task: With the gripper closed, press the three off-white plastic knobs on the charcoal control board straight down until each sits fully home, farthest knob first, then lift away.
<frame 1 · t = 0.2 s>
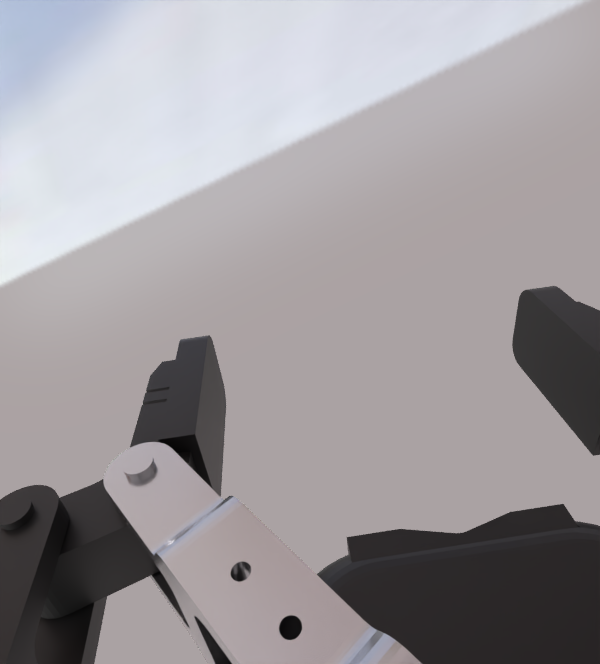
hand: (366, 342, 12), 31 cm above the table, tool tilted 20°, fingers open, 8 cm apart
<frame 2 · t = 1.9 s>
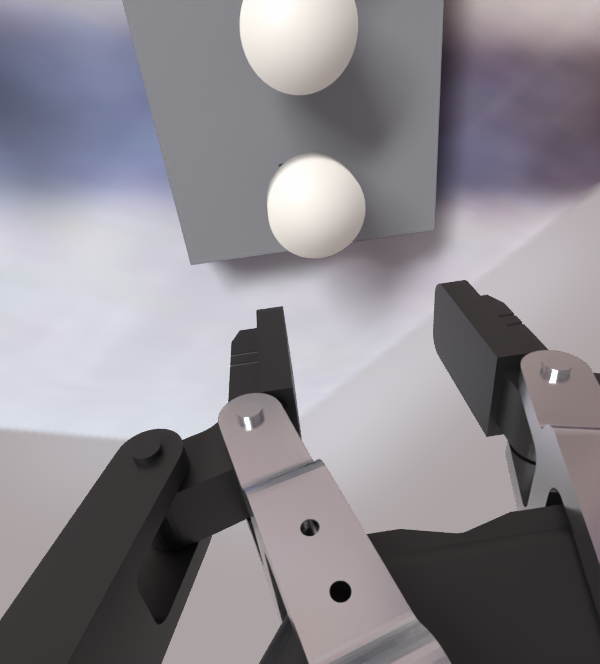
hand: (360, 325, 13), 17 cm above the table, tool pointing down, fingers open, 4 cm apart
control board: (285, 30, 24), on the table
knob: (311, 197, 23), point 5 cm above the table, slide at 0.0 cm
knob middle: (294, 29, 20), point 5 cm above the table, slide at 0.0 cm
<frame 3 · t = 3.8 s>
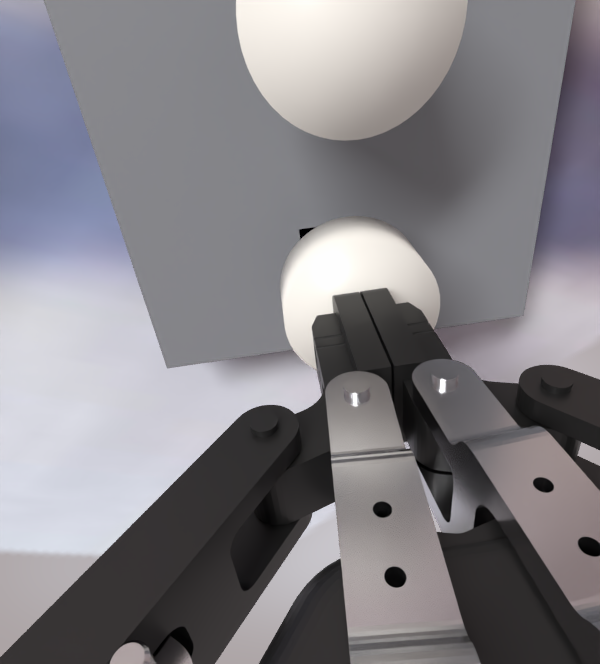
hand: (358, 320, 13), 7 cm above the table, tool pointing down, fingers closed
control board: (310, 22, 15), on the table
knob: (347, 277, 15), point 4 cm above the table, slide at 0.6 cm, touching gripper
knob middle: (333, 19, 11), point 5 cm above the table, slide at 0.0 cm
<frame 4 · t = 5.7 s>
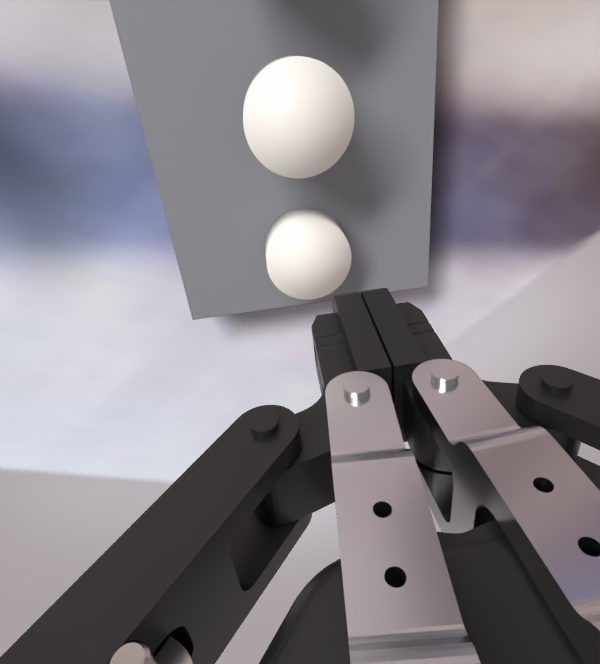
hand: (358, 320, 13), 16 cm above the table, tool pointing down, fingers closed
control board: (285, 101, 25), on the table
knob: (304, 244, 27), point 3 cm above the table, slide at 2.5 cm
knob middle: (293, 113, 21), point 5 cm above the table, slide at 0.0 cm
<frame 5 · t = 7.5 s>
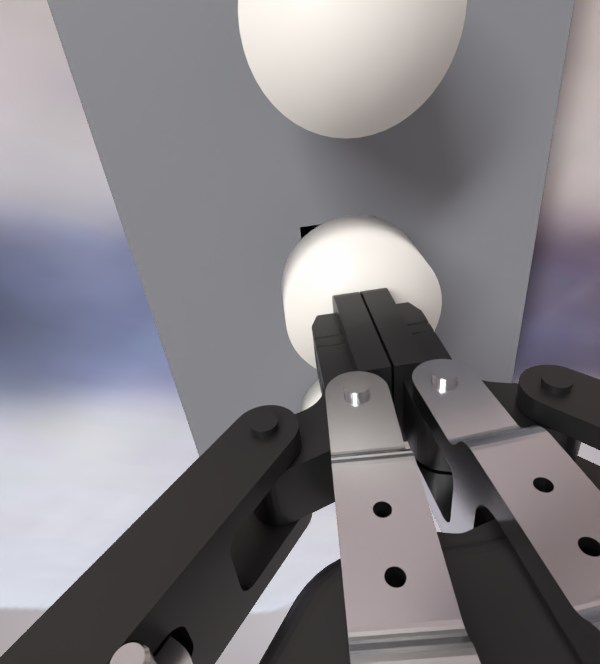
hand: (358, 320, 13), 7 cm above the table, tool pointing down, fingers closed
control board: (328, 227, 19), on the table
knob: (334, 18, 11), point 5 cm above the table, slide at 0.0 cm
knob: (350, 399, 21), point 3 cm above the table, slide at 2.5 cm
knob middle: (348, 277, 15), point 5 cm above the table, slide at 0.5 cm, touching gripper
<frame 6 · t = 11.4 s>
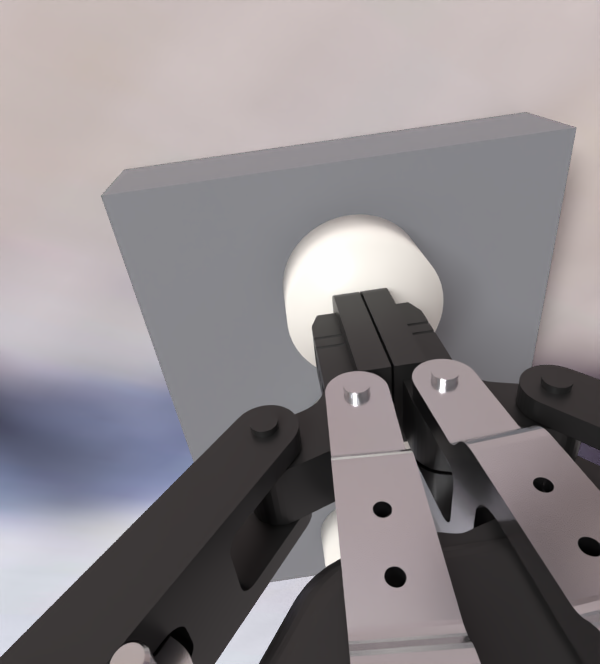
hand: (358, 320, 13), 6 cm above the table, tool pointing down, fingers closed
control board: (345, 378, 22), on the table
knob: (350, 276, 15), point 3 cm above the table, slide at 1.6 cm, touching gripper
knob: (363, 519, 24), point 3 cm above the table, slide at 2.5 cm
knob middle: (356, 416, 20), point 3 cm above the table, slide at 2.5 cm
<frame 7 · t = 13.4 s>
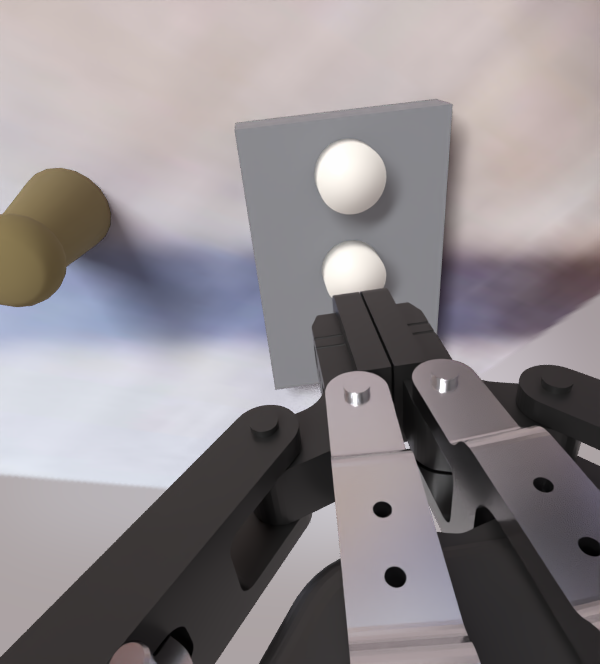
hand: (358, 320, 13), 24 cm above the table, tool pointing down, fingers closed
control board: (343, 253, 38), on the table
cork: (68, 210, 35), on the table
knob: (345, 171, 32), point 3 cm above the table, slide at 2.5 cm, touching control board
knob middle: (349, 265, 36), point 3 cm above the table, slide at 2.5 cm
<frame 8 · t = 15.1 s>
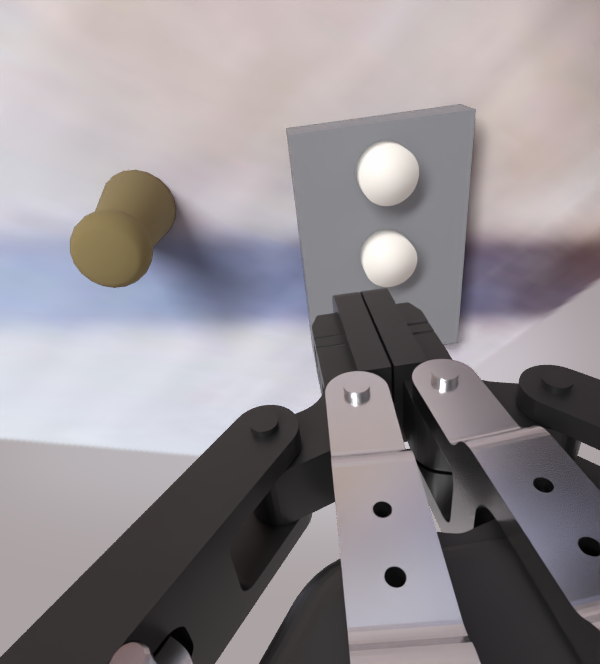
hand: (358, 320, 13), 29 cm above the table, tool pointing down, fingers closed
control board: (377, 240, 43), on the table
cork: (139, 206, 40), on the table
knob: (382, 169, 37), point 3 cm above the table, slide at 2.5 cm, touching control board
knob middle: (383, 251, 41), point 3 cm above the table, slide at 2.5 cm
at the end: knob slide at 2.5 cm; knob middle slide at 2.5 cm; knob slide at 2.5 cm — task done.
